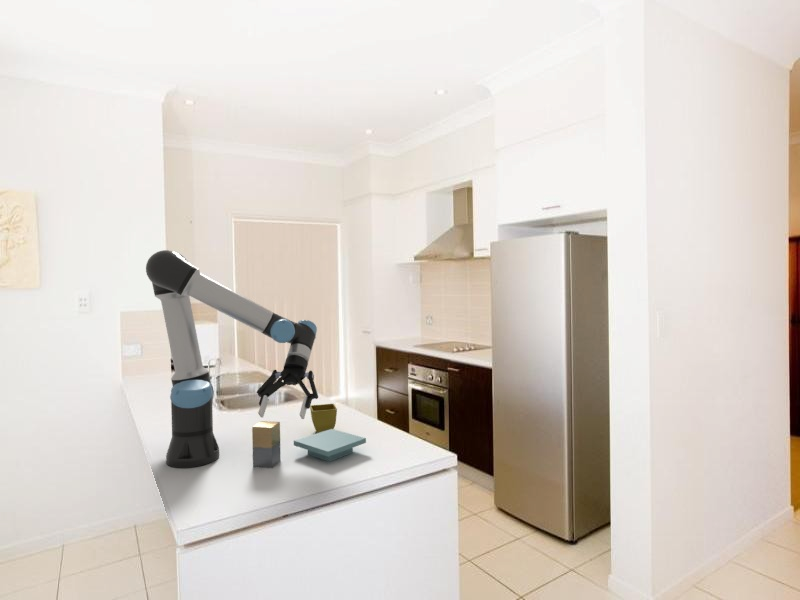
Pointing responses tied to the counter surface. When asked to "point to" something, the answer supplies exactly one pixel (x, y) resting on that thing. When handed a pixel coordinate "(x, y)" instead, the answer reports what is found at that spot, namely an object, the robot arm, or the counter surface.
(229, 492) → the counter surface
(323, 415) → the flower pot
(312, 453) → the teal stand
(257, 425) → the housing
